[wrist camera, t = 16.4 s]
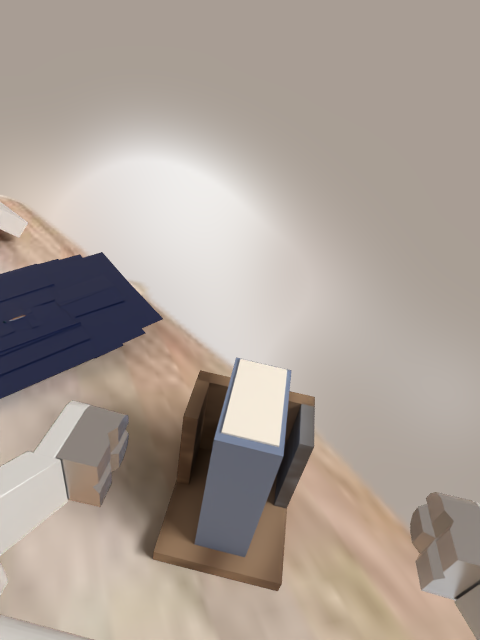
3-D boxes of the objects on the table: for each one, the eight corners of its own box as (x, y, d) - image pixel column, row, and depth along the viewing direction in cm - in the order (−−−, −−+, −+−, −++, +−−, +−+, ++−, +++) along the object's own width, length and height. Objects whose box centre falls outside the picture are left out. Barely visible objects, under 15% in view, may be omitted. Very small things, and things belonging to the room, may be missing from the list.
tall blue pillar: (194, 544, 34) (214, 438, 25) (214, 463, 40) (236, 356, 31) (245, 557, 33) (283, 455, 24) (257, 474, 40) (291, 369, 31)
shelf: (153, 559, 34) (156, 488, 27) (190, 443, 43) (199, 370, 36) (277, 591, 33) (313, 527, 26) (287, 467, 43) (315, 397, 36)
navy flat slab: (171, 340, 55) (169, 321, 52) (-85, 457, 40) (-103, 437, 38) (100, 260, 68) (96, 242, 66) (-110, 325, 54) (-124, 304, 51)
